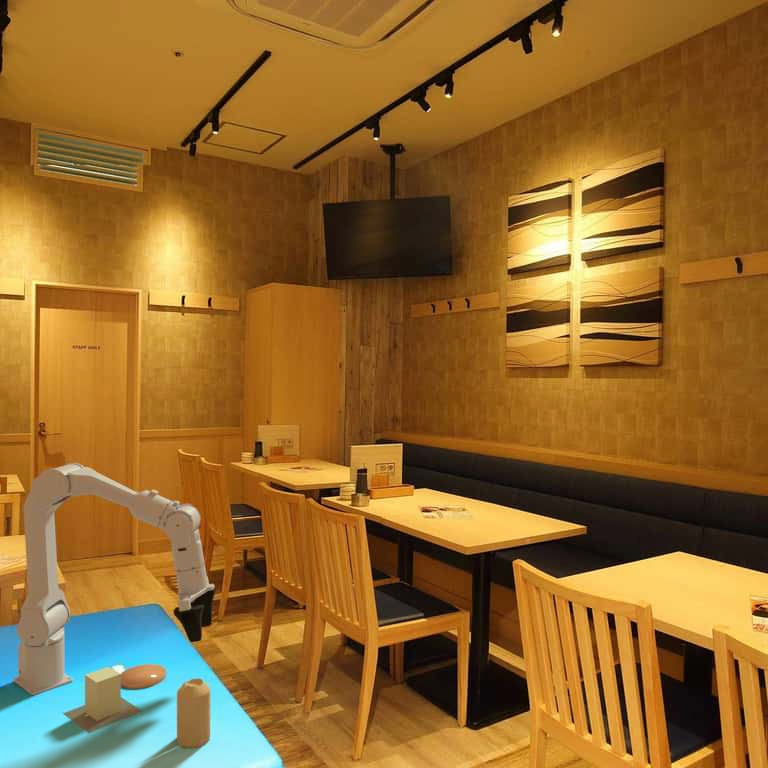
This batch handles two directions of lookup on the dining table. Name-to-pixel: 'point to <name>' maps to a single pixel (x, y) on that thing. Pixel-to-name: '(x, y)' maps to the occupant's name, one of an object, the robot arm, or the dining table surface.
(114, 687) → the block
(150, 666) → the orange disc
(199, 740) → the candle
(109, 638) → the dining table surface
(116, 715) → the brown tile
